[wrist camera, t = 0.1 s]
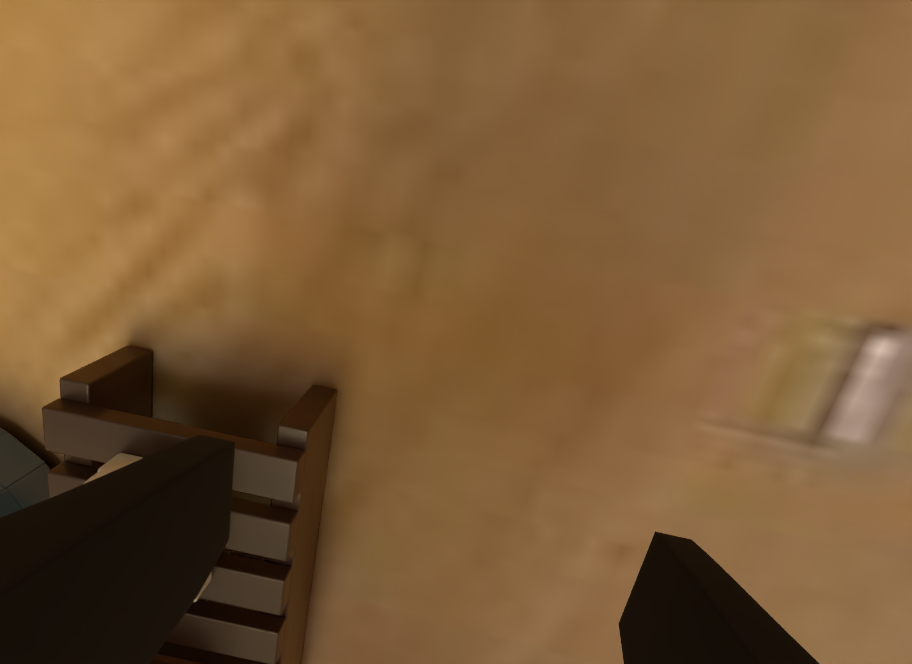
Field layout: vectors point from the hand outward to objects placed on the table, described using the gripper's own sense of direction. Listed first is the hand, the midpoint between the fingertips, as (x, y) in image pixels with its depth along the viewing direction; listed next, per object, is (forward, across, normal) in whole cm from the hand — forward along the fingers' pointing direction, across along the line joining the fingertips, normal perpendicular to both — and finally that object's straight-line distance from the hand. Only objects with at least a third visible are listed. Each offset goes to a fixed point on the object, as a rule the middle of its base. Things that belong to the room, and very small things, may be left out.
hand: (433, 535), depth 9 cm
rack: (+10, +8, +10) cm, 17 cm away
